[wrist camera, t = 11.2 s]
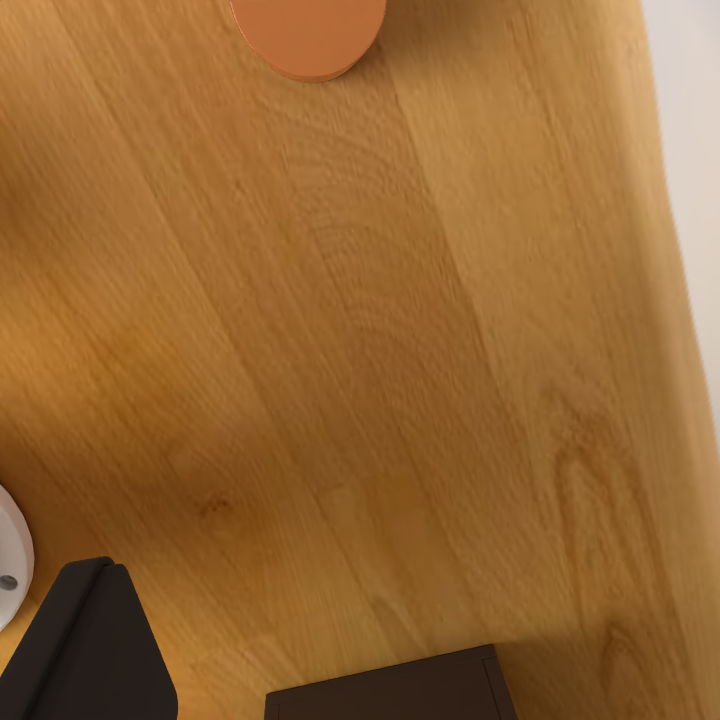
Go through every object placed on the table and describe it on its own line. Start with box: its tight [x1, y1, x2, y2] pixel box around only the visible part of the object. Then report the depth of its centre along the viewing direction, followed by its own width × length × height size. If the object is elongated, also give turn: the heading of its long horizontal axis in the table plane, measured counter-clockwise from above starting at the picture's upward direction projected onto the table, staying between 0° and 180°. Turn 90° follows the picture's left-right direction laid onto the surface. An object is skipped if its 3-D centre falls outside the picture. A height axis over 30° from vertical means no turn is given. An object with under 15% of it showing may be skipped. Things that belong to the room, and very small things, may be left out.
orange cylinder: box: [230, 0, 387, 83], centre depth 20 cm, size 5×5×4 cm
